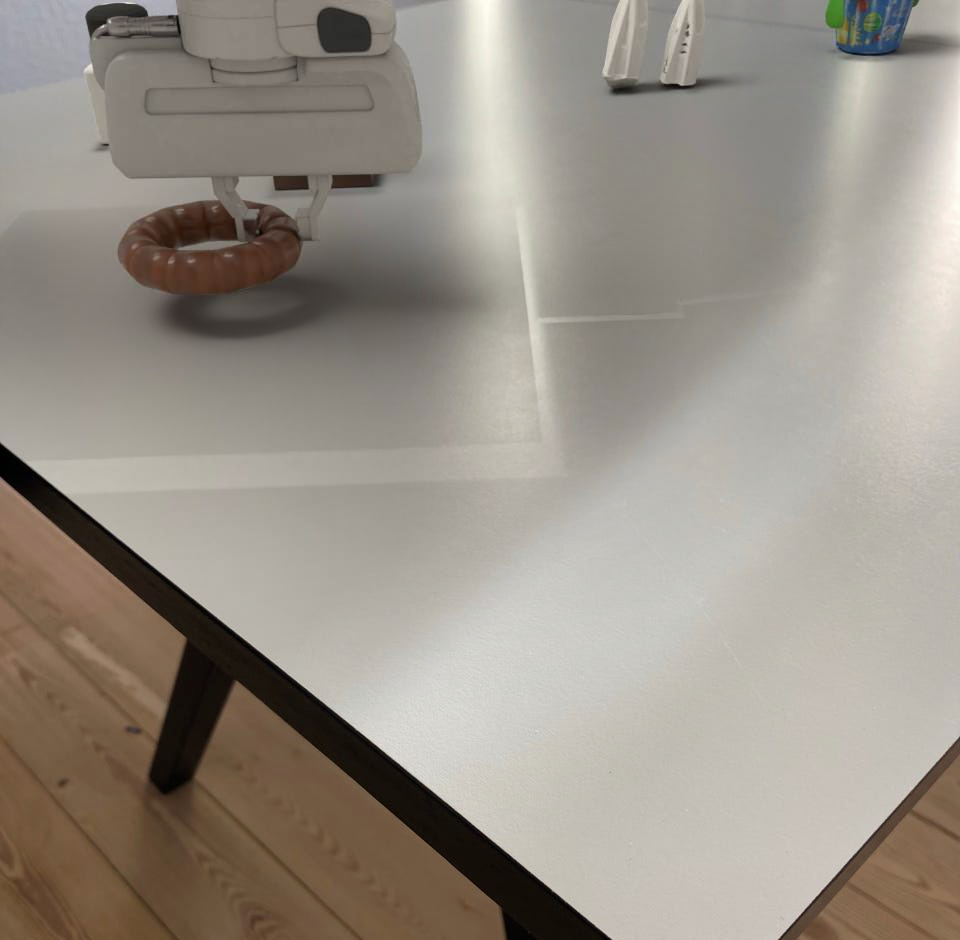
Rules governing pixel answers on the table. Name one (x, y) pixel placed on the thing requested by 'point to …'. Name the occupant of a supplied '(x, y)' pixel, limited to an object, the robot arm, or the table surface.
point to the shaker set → (631, 42)
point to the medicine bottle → (96, 93)
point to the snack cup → (869, 24)
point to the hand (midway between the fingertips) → (281, 239)
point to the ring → (207, 271)
